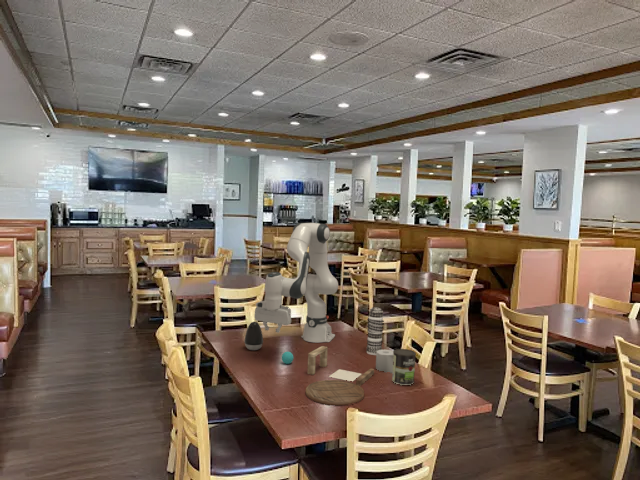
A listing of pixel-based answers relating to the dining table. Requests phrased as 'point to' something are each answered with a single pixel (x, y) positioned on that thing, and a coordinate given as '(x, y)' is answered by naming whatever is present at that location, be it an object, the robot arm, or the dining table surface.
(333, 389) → the trivet
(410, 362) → the coffee can
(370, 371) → the stopper wall
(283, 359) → the ball
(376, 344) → the leaning tower model
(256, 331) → the speaker
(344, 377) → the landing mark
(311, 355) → the bridge
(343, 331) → the dining table surface
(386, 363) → the toilet tissue
